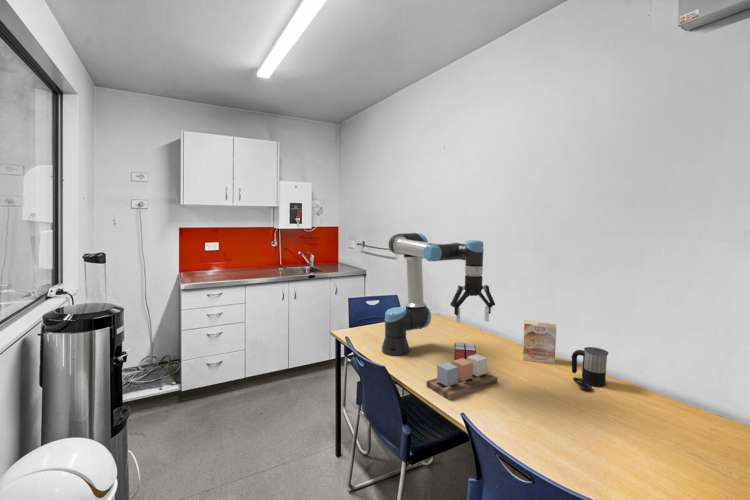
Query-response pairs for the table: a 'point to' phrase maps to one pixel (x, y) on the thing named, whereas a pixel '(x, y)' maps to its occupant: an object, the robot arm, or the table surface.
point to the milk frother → (591, 367)
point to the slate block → (447, 374)
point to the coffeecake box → (539, 341)
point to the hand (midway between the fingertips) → (472, 321)
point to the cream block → (478, 364)
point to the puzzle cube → (463, 350)
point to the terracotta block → (464, 369)
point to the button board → (462, 386)
